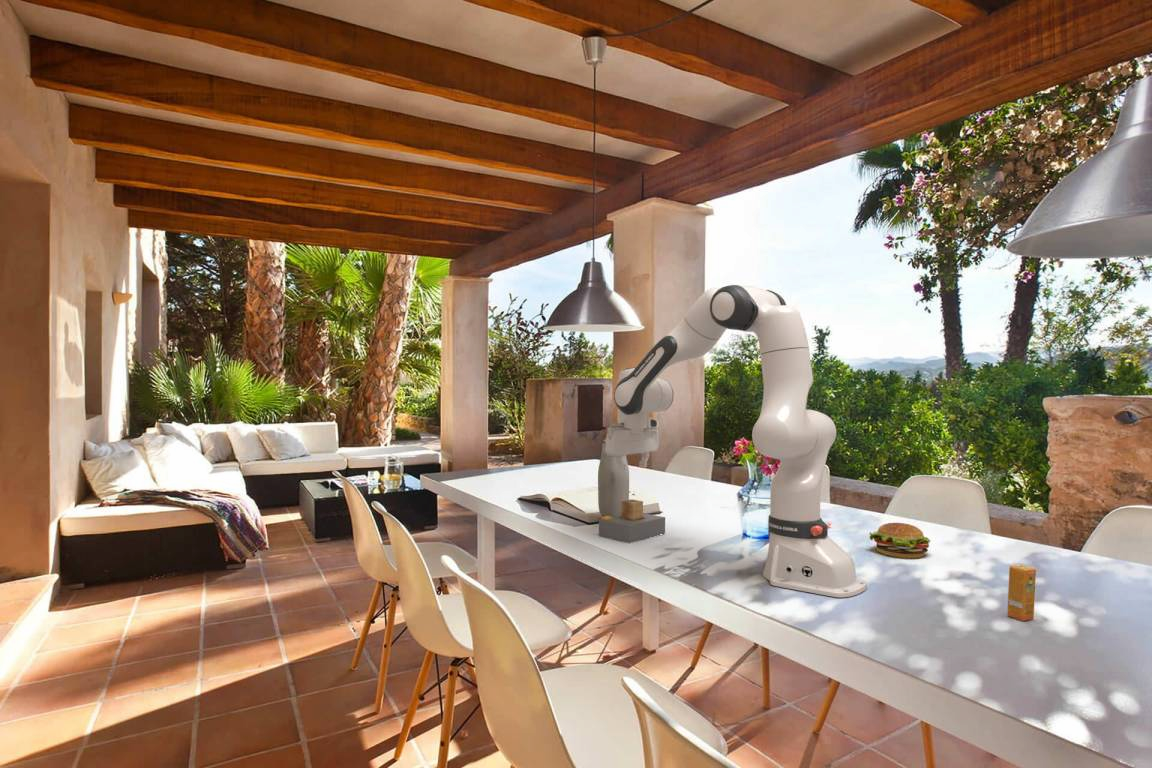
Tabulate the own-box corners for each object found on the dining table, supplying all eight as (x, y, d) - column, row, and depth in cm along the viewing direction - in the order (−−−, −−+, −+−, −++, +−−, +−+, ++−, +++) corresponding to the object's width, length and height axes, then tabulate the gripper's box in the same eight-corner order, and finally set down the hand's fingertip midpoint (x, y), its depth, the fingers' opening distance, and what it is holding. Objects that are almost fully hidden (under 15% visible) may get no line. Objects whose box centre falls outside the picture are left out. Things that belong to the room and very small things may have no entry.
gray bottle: (595, 518, 218) (595, 434, 218) (626, 517, 220) (626, 433, 219) (600, 524, 209) (600, 436, 208) (631, 523, 210) (632, 436, 210)
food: (898, 544, 184) (898, 516, 184) (940, 557, 171) (940, 527, 171) (858, 548, 180) (858, 519, 180) (898, 562, 167) (898, 530, 167)
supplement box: (1024, 622, 125) (1025, 569, 125) (1006, 616, 128) (1007, 565, 128) (1036, 619, 126) (1036, 567, 126) (1017, 613, 130) (1018, 563, 129)
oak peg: (643, 531, 195) (643, 501, 195) (632, 534, 192) (633, 503, 192) (631, 529, 198) (631, 499, 198) (621, 531, 195) (621, 501, 195)
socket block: (665, 534, 196) (665, 515, 196) (629, 543, 185) (629, 523, 185) (634, 527, 205) (634, 509, 205) (598, 535, 194) (598, 517, 194)
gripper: (616, 424, 185) (616, 473, 185) (662, 421, 199) (662, 466, 199) (600, 423, 190) (600, 471, 190) (646, 420, 204) (646, 464, 204)
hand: (632, 468), depth 195 cm, fingers open, 8 cm apart
